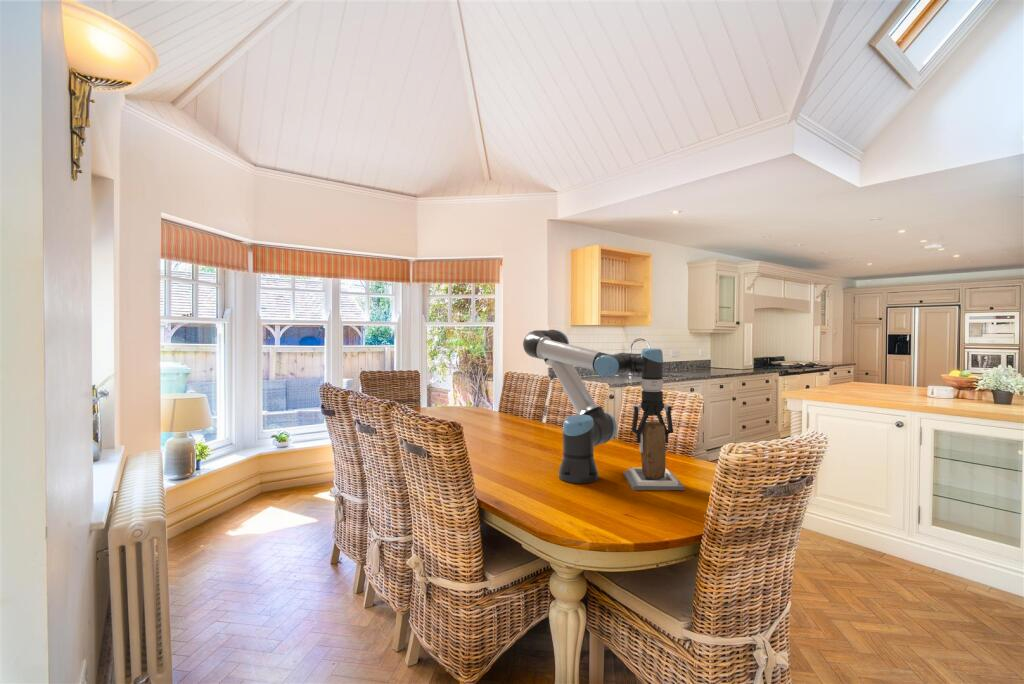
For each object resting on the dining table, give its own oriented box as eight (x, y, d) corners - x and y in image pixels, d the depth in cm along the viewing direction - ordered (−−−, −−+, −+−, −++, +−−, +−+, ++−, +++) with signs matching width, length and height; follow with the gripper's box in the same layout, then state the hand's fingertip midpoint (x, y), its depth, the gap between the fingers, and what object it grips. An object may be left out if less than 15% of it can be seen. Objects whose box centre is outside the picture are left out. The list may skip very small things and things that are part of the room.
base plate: (632, 490, 166) (632, 482, 166) (623, 474, 184) (623, 467, 184) (684, 491, 165) (684, 482, 165) (670, 474, 183) (670, 467, 183)
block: (666, 480, 169) (666, 425, 168) (645, 480, 169) (645, 425, 169) (658, 471, 180) (658, 419, 179) (638, 471, 180) (638, 419, 180)
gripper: (626, 391, 171) (626, 454, 171) (683, 391, 169) (683, 454, 170) (622, 389, 178) (622, 448, 179) (677, 388, 177) (677, 449, 178)
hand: (652, 451), depth 174 cm, fingers closed on block, 7 cm apart
